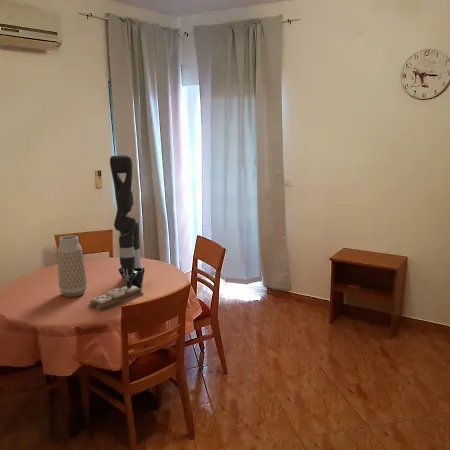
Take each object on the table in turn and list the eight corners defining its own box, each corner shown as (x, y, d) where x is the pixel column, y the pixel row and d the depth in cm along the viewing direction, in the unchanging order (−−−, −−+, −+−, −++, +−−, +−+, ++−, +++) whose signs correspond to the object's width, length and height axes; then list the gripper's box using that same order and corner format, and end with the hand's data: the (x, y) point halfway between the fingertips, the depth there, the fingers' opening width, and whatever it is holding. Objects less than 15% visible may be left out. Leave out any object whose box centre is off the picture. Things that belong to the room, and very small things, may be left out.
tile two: (107, 296, 212) (107, 291, 211) (117, 292, 217) (116, 287, 216) (115, 298, 209) (115, 293, 208) (125, 294, 213) (124, 289, 213)
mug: (150, 283, 237) (149, 266, 236) (138, 290, 227) (137, 273, 225) (138, 281, 241) (137, 265, 239) (125, 288, 230) (124, 271, 228)
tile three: (94, 303, 205) (93, 298, 205) (104, 299, 210) (103, 294, 210) (101, 305, 202) (101, 300, 201) (111, 301, 207) (111, 296, 206)
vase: (61, 300, 214) (55, 241, 207) (58, 292, 226) (52, 236, 219) (89, 295, 220) (84, 238, 213) (85, 287, 232) (80, 233, 225)
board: (88, 306, 206) (88, 300, 205) (129, 290, 227) (128, 285, 226) (102, 311, 200) (102, 305, 199) (143, 294, 220) (143, 289, 220)
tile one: (121, 292, 219) (120, 287, 218) (130, 289, 224) (129, 284, 223) (129, 295, 215) (128, 290, 215) (137, 291, 220) (137, 286, 220)
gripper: (112, 254, 216) (115, 287, 220) (130, 258, 208) (132, 292, 212) (124, 251, 222) (126, 283, 226) (141, 255, 214) (143, 287, 218)
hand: (129, 287), depth 219 cm, fingers closed
